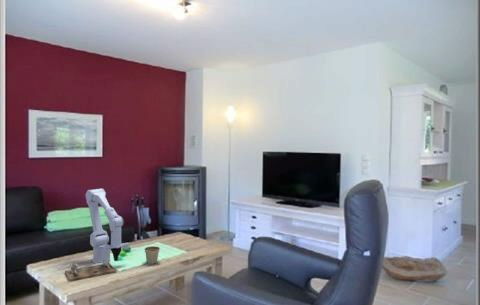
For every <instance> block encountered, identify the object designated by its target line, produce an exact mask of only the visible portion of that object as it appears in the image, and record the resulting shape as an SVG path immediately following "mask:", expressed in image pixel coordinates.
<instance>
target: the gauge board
mask: <svg viewBox="0 0 480 305" xmlns="http://www.w3.org/2000/svg"><path fill="white" fill-rule="evenodd" d="M115 273H117V270H116V268H114V266H113V265H112V264H111V263H110V268H108V267H107V266H103V265H102V263H101V264H96V265H91V266H90V265H89V266H86V267H85V266H84V267H79V265H78V264H77V263H70V269H67V270H65V271H64V274H65V277H66V278H67V280H68V281H69V282H75V281H80V280H85V279H89V278H90V279H92V278H96V277H99V276H100V277H101V276H104V275H105V276H106V275H109V274H110V275H111V274H115Z"/></svg>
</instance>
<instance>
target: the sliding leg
mask: <svg viewBox="0 0 480 305" xmlns="http://www.w3.org/2000/svg"><path fill="white" fill-rule="evenodd" d="M110 261H111V259H110V260H109V259H108V258H105V259H102V262H101V264H102V265H103V266H107V267H108V268H110V264H111V263H110Z"/></svg>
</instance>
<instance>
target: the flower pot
mask: <svg viewBox="0 0 480 305" xmlns="http://www.w3.org/2000/svg"><path fill="white" fill-rule="evenodd" d="M143 250H144V253H145V258H146V263H147V264H148V265H153V264H157V263H158V259H159V258H158V257H159V252H160V250H161V247H159V246H146V247H144V249H143Z"/></svg>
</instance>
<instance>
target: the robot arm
mask: <svg viewBox="0 0 480 305" xmlns="http://www.w3.org/2000/svg"><path fill="white" fill-rule="evenodd" d="M106 195H107V192H106V191H105V189H104V188H96V189H88V190H87V191H86V193H85V200H86V204H87V205H88V209H89V215H90V216H89V217H90V220H91V226H92V230H93V232H92V233H90V235H89V238H90V240H89V244H90V246H91V247H92V249H93V251H92V252H93V254H92V256H93V257H92V258H91V261H92V262H93V264H97V263H98V264H99V263H102V259H105V258H108V259H109V260H110V261H111V253H112V256H113V260H114V261H115V262H118V261H119V256H120V253H121V252H122V248H129V247H130V246H129V245H130V244H129V242H122V227H123V226H124V223H125V222H124V218H123V217H122V216H120V215H119V214H118V213H117V211H116V210H115V209H114V207H112V206H110V204H109V201H108V200H107V197H106ZM99 204H100V205H101V207H102V208H103V210H104V212H103V213H104V215H105V217H106V219H107V220H108V221H109V222H108V226H109V230H110V237H109V235H108V232H107V230H104V229H103V226H102V225H103V224H102V220H101V215H100V210H99ZM109 242H110V244H108V243H109Z"/></svg>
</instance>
